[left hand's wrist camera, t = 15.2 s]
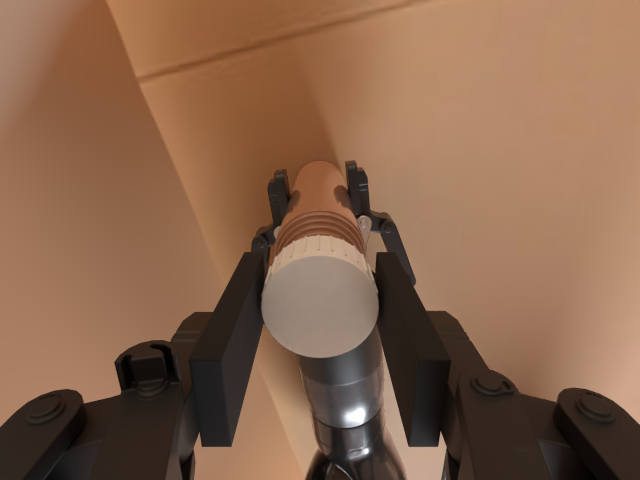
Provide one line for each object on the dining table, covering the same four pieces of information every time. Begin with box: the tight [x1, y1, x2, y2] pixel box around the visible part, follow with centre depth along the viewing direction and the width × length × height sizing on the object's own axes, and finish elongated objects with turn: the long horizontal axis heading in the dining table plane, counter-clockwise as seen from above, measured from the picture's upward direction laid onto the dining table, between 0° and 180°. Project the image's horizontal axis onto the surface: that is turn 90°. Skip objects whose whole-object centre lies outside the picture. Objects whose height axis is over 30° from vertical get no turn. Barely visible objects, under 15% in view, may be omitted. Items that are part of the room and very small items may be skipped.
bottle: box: [274, 161, 366, 258], centre depth 23 cm, size 4×4×21 cm
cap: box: [261, 235, 379, 358], centre depth 14 cm, size 4×4×2 cm
